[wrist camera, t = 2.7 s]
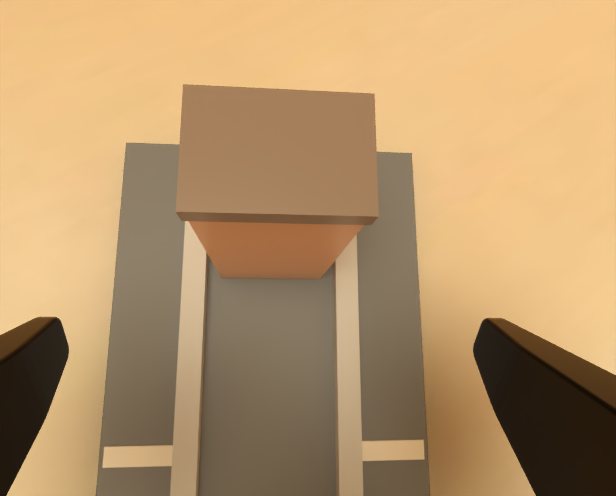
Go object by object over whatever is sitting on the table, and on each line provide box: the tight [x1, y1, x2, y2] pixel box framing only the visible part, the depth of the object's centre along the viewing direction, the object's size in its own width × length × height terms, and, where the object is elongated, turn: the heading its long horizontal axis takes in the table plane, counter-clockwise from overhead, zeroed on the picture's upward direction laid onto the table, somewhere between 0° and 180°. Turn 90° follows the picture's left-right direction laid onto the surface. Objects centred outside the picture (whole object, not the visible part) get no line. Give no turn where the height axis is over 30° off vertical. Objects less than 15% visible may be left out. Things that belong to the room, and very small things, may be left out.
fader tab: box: [176, 84, 379, 279], centre depth 16 cm, size 3×5×11 cm
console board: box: [96, 143, 430, 496], centre depth 20 cm, size 24×14×2 cm, turn 0°
